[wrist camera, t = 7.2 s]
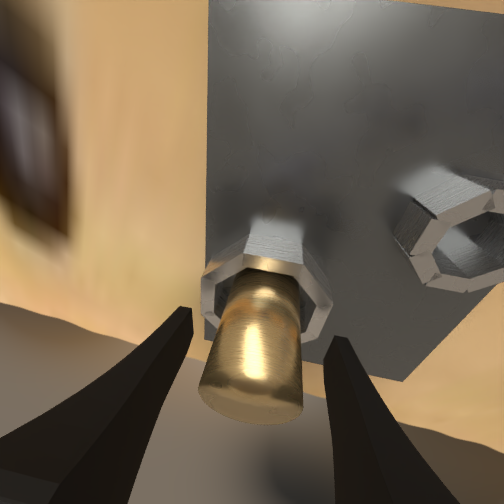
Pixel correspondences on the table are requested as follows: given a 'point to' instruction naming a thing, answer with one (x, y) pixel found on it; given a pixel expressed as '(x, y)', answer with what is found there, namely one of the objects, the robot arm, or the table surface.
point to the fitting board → (357, 167)
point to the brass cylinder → (257, 351)
